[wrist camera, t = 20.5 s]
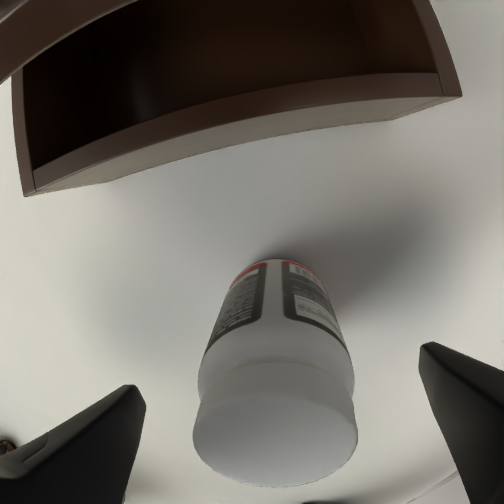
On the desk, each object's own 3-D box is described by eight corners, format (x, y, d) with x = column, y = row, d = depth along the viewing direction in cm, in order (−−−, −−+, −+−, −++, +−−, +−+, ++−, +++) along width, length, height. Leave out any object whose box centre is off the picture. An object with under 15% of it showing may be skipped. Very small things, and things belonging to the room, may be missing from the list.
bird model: (-13, 440, 19) (-3, 426, 21) (1, 463, 24) (9, 453, 26) (7, 458, 19) (17, 443, 22) (17, 477, 24) (25, 466, 27)
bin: (394, 119, 11) (464, 97, 6) (106, 182, 13) (23, 198, 8) (324, -65, 8) (337, -132, 3) (84, -1, 10) (25, -39, 5)
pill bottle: (233, 350, 15) (198, 491, 7) (219, 260, 14) (150, 381, 6) (327, 344, 14) (358, 487, 6) (327, 252, 13) (386, 371, 5)
